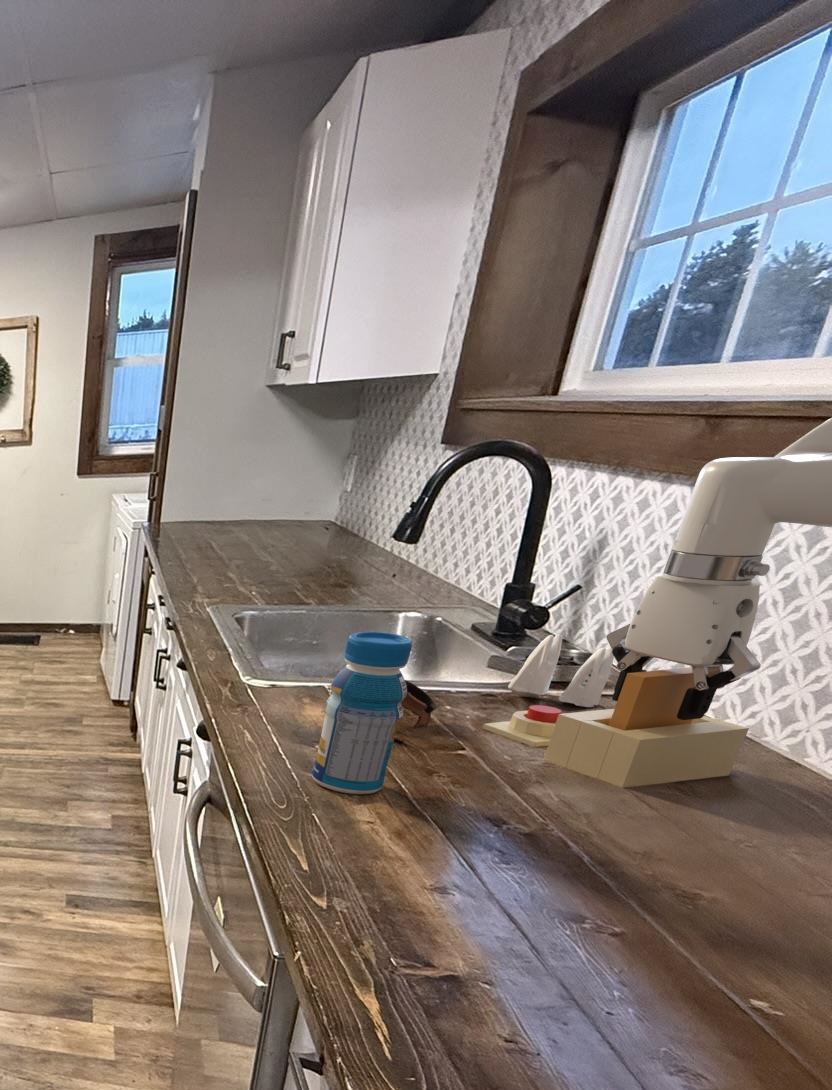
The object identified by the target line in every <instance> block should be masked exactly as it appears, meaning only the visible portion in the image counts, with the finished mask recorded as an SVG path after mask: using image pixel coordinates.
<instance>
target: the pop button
mask: <svg viewBox="0 0 832 1090" xmlns="http://www.w3.org/2000/svg"><path fill="white" fill-rule="evenodd" d="M527 711H528V712H527V715H526V718H528V719H531V720H534V721H540V722H548V723H556V722H557V719H558V716H559V714H562V712H563V711H562V709H559V708H557V707H554V706H549V705H539V704H534V705H529V706H528V709H527Z"/></svg>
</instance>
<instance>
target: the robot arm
mask: <svg viewBox="0 0 832 1090" xmlns="http://www.w3.org/2000/svg"><path fill="white" fill-rule="evenodd" d="M779 523H785V524H786V523H788V524H796V525H797V524H799V525H806V526H807V525H808V526H814V527H815V526H816V527H824V528H832V417H830V418H828V419H827V420H825V421H824V422H822V423H821V424H819V425H818V426H816V427H815V428H813V429H812V430H810V431H809V432H807V433H806V434H804V435H803V436H802V437H800V438H798V439H796V441H794V442H792V443H791V444H790V445H789V446H787V447H785V448H784V449H783V450H781V451H780V452H778V453H777V454H776V455H774V456H773V457H772V456H771V457H770V456H769V457H768V456H767V457H766V456H736V457H735V456H734V457H722V458H717V459H713V460H711V461H709V462H707V463H706V464H705V465H704V466H703V467H702V468H701V470H700V471H699V473H698V476H697V478H696V482H695V484H694V487H693V490H692V493H691V495H690V497H689V500H688V504H687V505H686V509H685V512H684V515H683V517H682V520H681V523H680V526H679V529H678V531H677V534H676V537H675V539H674V542H673V545H672V548H671V550H670V552H669V556H668V558H667V560H666V564H665V567H664V569H663V572H662V573H660V574H659V573H658V574H657V575H656V577H655V578H654V579H653V580H652V582H651V584H650V585H649V586H648V588H647V590H645V593H644V595H643V596H642V599H641V600H640V603H639V604H638V607H637V609H636V611H635V613H634V615H633V617H632V618H631V619H632V620H631V622H630V623H628V624H626V625H624V626H622V627H619V628H618V629H615V630H613V631H611V632H608V633H607V634H606V640H607V642H608V644H609V647H611V648H612V649H613V650H612V654H613V655H614V659H615V661H616V663H617V664H616V669H617V670H618V671H620V672H619V675H618V678H617V680H616V683H615V686H614V687H613V688H614V689H613V691H614V692H613V694H612V697H611V700H612V701H614V702H617V701H618V698H619V695H620V693H621V690H622V687H623V684H624V682H625V679H626V676H627V673H635V672H646V671H648V670H647V669H644V667H645V666H646V665H647V664H648V663H650V662H651V661H652V660H653V659H654V658H655V659H659V660H663V661H668V662H673V663H677V664H680V665H685V666H689V667H692V673H693V678H694V684H695V687H694V688H689V689H687V691H686V693H685V696H684V698H683V701H682V703H681V706H680V708H679V711H678V713H677V718H678V719H681V720H690V719H700V718H702V717H703V716H705V714H707V712H709V709H710V707H711V704H712V702H713V699H714V697H715V695H716V692H717V690H718V689H723V688H724V687H726V686H727V685H730V684H732V683H735V682H736V681H739V680H740V679H741V678H744V677H746V676H747V675H750V674H752V673H754V672H756V671H757V670H759V669H760V668H761V663H760V662H759V660H758V659H757V658H756V656H755V655H754V654H753V652H752V651H751V650H750V649H749V648H748V643H749V641H750V639H751V635H752V633H753V632H752V631H753V628H754V625H755V620H756V618H757V612H758V607H759V600H760V589H761V587H760V586H761V583H757V582H752V581H753V580H754V579H755V577H756V576H757V577H758V576H759V577H764V576H766V575H767V574H768V573H769V571H770V568H771V567H770V564H769V563H768V564H767V563H763V562H762V561H763V557H764V556H763V554H764V552H765V549H766V547H767V546H768V545H767V544H768V542H769V540H770V537H771V534H772V532H773V530H774V527H775V525H776V524H779ZM723 665H724V666H725V665H727V666H728V665H732V666H731V667H730V668H728V669H727V670H724V666H723Z"/></svg>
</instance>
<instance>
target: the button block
mask: <svg viewBox="0 0 832 1090" xmlns="http://www.w3.org/2000/svg"><path fill="white" fill-rule="evenodd" d="M527 712H528V710H517V711H515V712H513V713H512V715H511V719H510V720H508V721H499V722H498V721H497V722H487V723H483V725H482V729H483V730H486V731H488V732H491V733H494V734H497V735H500V736H503V737H505V738H508V739H510V740H513V741H516V742H518V743H521V744H524V745H527V746H530V747H533V748H539V747H548V745H549V742H550V739H551V736H552V733H553V730H554V727H555V725H556V723H548V722H540V721H534V720H531V719H528V718H526V715H527Z"/></svg>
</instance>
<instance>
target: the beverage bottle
mask: <svg viewBox="0 0 832 1090" xmlns="http://www.w3.org/2000/svg"><path fill="white" fill-rule="evenodd" d="M412 647H413V640H412V639H411V638H409V637H407V636H404V635H401V634H396V633H390V632H381V631H359V632H353V633H351V634H350V635H349V637H348V638H347V642H346V646H345V649H344V650H345V651H344V655H343V656H344V661H345V662H346V663H347V665H345V666H343V668H342V669H341V670H340V671H339V672H338V673H337V674H336V675H335V677H334V678H333V680H332V682H331V684H330V691H331V695H330V696H329V697H328V698H327V700H326V702H325V705H324V713H325V715H324V719H323V725H322V730H321V734H320V739H319V744H318V748H317V751H316V752H317V753H316V757H315V761H314V763H313V767H312V770H311V779H312V781H314V782H315V783H316V784H317V785H319V786H321V787H323V788H325V789H328V790H331V791H334V792H338V793H344V794H351V795H370V794H374V793H377V792H379V791H381V790H382V788H383V786H384V783H385V779H386V771H387V767H388V764H389V760H390V756H391V753H392V749H393V745H394V741H395V737H396V735H397V731H398V726H399V724H400V723H401V721H402V719H403V715H404V707H403V706H402V705H401V702H402V700H403V699H405V697H406V696H407V686H406V682H405V680H406V679H405V677H404V675H403V673H402V670H400V669H404V668H405V667H406V666H407V664H408V663H409V659H410V655H411V651H412Z"/></svg>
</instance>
